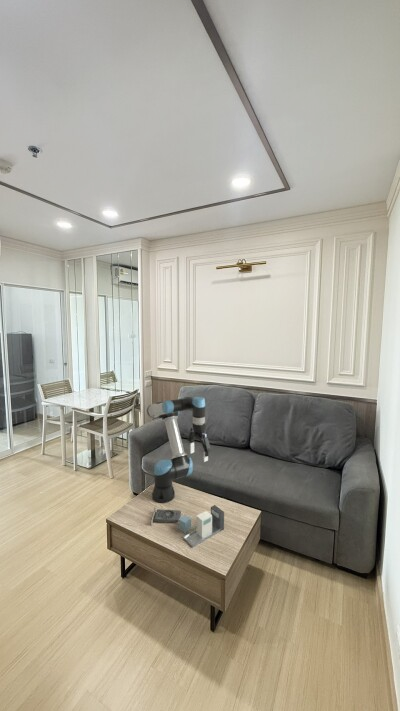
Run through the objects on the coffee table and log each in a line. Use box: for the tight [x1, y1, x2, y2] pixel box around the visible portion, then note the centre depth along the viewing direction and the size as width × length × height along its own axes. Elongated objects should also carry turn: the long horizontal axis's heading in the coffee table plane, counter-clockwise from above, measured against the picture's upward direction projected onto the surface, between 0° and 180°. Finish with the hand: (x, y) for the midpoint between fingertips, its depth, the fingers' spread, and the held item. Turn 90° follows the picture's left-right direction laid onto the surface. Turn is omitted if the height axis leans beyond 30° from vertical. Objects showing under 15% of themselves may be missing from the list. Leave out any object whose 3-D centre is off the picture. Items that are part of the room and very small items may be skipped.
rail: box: [183, 504, 225, 549], centre depth 158 cm, size 8×22×10 cm, turn 128°
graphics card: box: [150, 507, 181, 526], centre depth 170 cm, size 17×4×12 cm
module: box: [195, 510, 212, 538], centre depth 158 cm, size 5×7×10 cm
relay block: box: [178, 514, 192, 534], centre depth 162 cm, size 5×5×6 cm
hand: (198, 456), depth 175 cm, fingers open, 13 cm apart
